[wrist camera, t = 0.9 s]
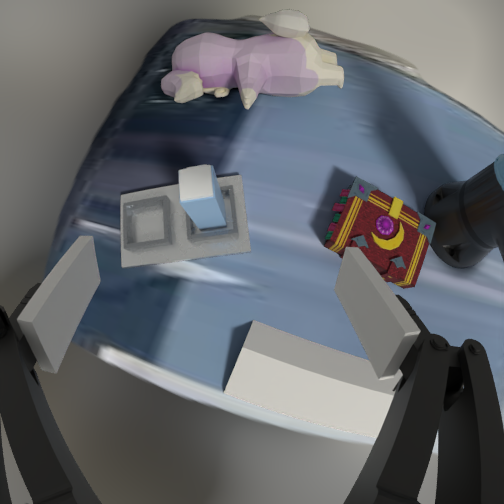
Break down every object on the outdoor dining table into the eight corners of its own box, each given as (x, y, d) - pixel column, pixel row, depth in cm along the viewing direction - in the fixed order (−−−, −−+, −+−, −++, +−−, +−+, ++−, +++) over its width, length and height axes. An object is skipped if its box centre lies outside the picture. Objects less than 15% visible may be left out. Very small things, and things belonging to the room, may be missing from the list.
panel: (241, 177, 46) (240, 169, 43) (251, 252, 44) (250, 248, 41) (123, 197, 46) (115, 190, 43) (125, 268, 44) (116, 265, 41)
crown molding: (223, 392, 41) (220, 399, 38) (253, 318, 43) (252, 320, 40) (388, 437, 39) (397, 445, 35) (417, 372, 41) (428, 376, 37)
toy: (325, 66, 56) (193, 68, 58) (330, -1, 41) (181, 3, 43) (350, 142, 41) (156, 143, 44) (368, 39, 26) (126, 48, 29)
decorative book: (402, 290, 43) (417, 288, 38) (314, 244, 44) (321, 237, 40) (423, 229, 44) (438, 221, 40) (342, 183, 46) (350, 170, 41)
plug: (223, 196, 45) (211, 156, 32) (227, 226, 44) (214, 195, 31) (197, 200, 45) (176, 162, 32) (200, 230, 44) (178, 201, 31)
